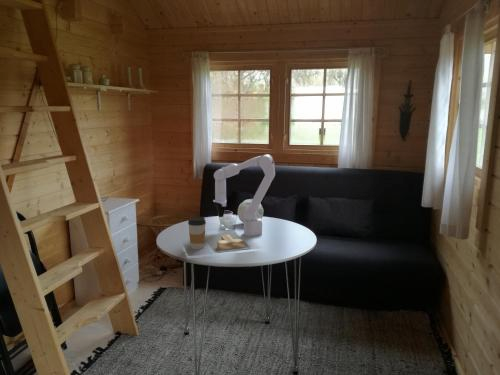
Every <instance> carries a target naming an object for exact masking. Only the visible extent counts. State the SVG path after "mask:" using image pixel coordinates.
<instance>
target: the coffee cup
mask: <svg viewBox="0 0 500 375" xmlns="http://www.w3.org/2000/svg"><path fill="white" fill-rule="evenodd" d="M187 222H188V223H187V224H188V233H189V235H188V236H189V242H190V244H189V245H190V249H193V250H202V249H203V248H205V243H206V240H205V235H206V223H207V221H206V219H205V217H203V216H192V217H189V218H188V221H187Z"/></svg>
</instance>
